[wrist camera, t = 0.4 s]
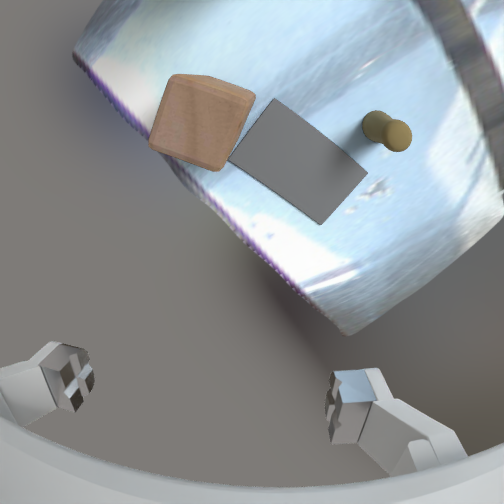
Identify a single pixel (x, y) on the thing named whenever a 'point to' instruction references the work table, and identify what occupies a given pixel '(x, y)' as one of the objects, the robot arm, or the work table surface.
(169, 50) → the work table surface
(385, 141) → the cork
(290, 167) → the mat
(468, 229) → the work table surface
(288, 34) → the work table surface
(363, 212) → the work table surface
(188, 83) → the wooden block
